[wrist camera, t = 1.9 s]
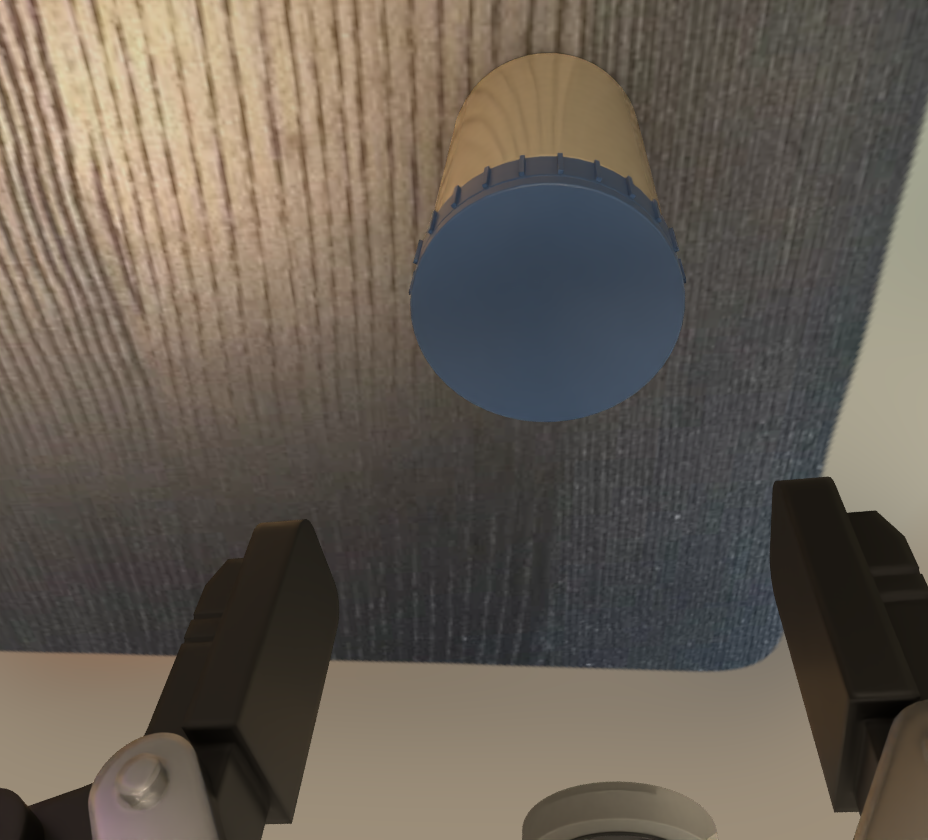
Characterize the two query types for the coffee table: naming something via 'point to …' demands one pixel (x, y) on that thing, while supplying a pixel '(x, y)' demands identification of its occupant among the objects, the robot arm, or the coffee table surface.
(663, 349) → the jar lid
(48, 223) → the coffee table surface
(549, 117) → the jar
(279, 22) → the coffee table surface
